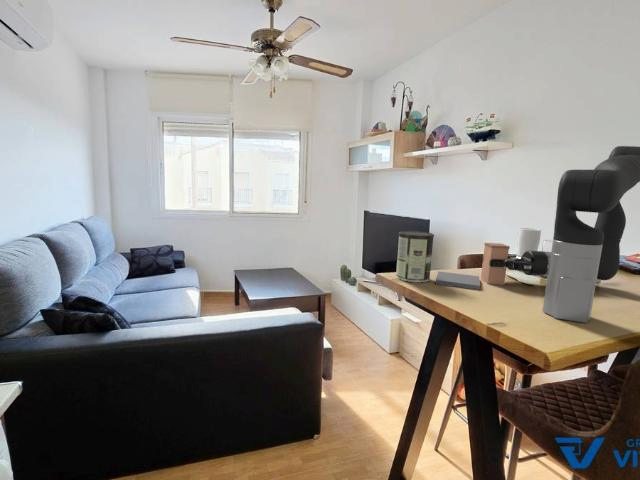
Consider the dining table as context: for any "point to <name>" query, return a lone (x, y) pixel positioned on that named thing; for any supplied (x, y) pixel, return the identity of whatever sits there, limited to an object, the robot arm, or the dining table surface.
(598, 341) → the dining table surface
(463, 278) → the slate coaster
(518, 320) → the dining table surface
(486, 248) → the tea tin
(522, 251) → the drinking glass
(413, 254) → the coffee can
